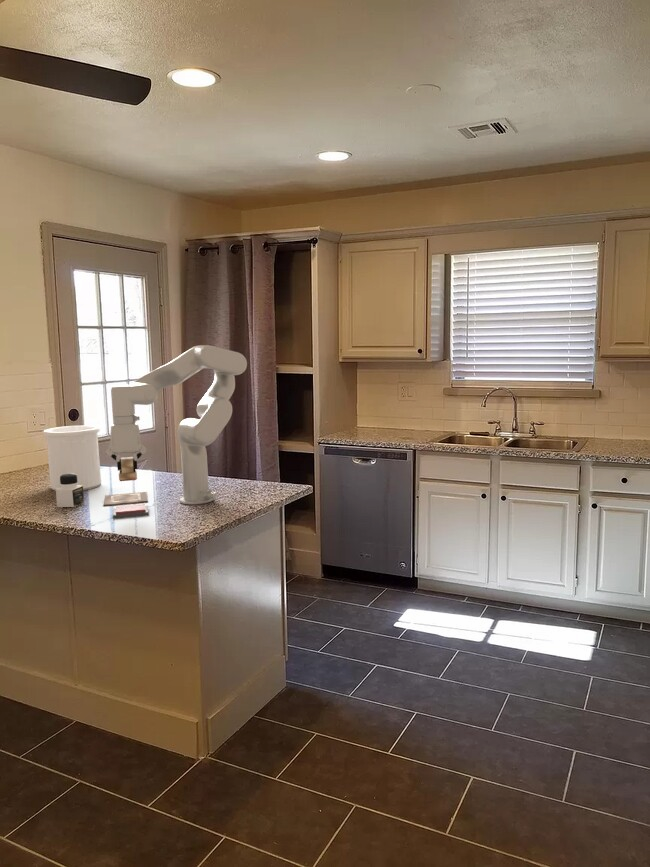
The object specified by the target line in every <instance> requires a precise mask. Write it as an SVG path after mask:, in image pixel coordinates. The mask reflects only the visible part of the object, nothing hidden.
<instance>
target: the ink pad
mask: <svg viewBox="0 0 650 867" xmlns="http://www.w3.org/2000/svg"><path fill="white" fill-rule="evenodd" d="M149 512H150V511H149V506H148V505H146V504H145V503H140V504H132V505H131V504H129V505H122V506H121V505H119V506H116V507H115V508H114V507H113V512H112V519H113V518H116V519H125V517H126V518H135V517H136V516H137V517H145V515H147V516H150V514H149Z"/></svg>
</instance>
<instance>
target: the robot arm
mask: <svg viewBox="0 0 650 867" xmlns="http://www.w3.org/2000/svg"><path fill="white" fill-rule="evenodd" d="M247 366H248V361H247V358H246V357H245V356H244V354H242V353H240V352H238V351H234V350H230V349H226V348H222V347H218V346H214V345H210V344H209V345H208V344H206V345H205V344H203V345H201V344H200V345H195V346H193V347H191V348H189V349H188V350H186V351H185V352H183V353H182V354H180V355H179V356H178V357H176V358H174V359H172V360H171V361H170V362H168V363H166V364H164V365H162V366H159V367H158V368H156V369H154V370H151V371H150V372H147V373H146V374H144V375H142V376H141V377H139V378H138V379H136V380H134V381H133V382H132V383H130V384H119V385H113V386H112V387H111V389H110V394H111V396H110V397H111V408H112V409H111V410H112V422H113V424H111V425H110V444H109V447H108V448H107V450H106V451H105V455H107V457H108V456H109V457H110V458H112V459H113V460H114V461H115V462H116V466H117V471H118V472H119V471H120V473H122V469H121V454H128V453H129V454H130V453H132V457H133V470H134V472H135V470H138V460H139V458H141V456H142V455H144V454H146V453H147V451H148V450H147V448H146V447H145V446H144V445H143V443H142V442H141V441H142V440H141V432H140V427H139V423H137V422H138V421H140V420H141V418H140V416H137V415H136V408H135V405H141V406H149V405H152V404H154V403H155V402H156V401H157V400H158V397H159V393H158V392H159V391H160V390H163V389H165V388H168V387H172V386H177V385H179V384H182V383H183V382H185V381H186V380H188V379H189V378H191V377H193V376H194V375H196V374H197V373H198V372H200V371H201V370H203V369H210V370H213V373H214V379H213V383H212V384H211V386H210V387H209V388H208V389H207V392H206V393H205V394H204V396H202V398H201V399H200V400H199V402H198V404H197V406H196V413H197V415H198V417H199V418H197V417H196V418H195V417H187V418H184V419H183V420H181V422H180V423H179V424H178V426H177V438H178V443H179V448H180V457H181V460H180V461H181V474H182V475H181V477H182V478H181V479H182V492H183V496H182V497H180V498H179V503H181V504H183V505H203V504H207V503H210V502H212V501H214V500H215V499H216V497H217V495H218V494H217V492H212V488H211V487H210V488H209V472H208V470H209V469H208V455H207V448H206V447H207V446H209V445H211V444H213V443H214V442H215V441H216V440H217V438H218V437H219V435H220V434H221V432H222V431H223V430H224V428H225V427H226V426H227V424H228V422H229V421H230V419H231V417H232V414H233V405H232V403H231V401H230V399H231V397H232V395H233V393H234V392H235V389H236V378H235V376H239V375H241V374H243V373H244V372H245V371H246V369H247Z"/></svg>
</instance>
